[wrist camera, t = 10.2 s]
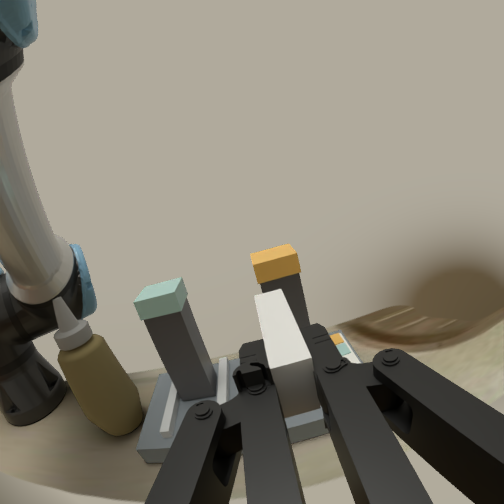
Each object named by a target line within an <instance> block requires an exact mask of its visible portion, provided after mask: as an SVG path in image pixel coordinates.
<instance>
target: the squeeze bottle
mask: <svg viewBox="0 0 504 504" xmlns="http://www.w3.org/2000/svg"><path fill="white" fill-rule="evenodd" d="M53 306H54V310H55V315H56V319H57V323H58V327H59V330H58V331H57V332H56V333H55V334H54V339H55V341H56V343H57V345H58V347H59V349H60V352H59V355H58V362H59V364H60V367H61V369H62V371H63V373H64V375H65V378H66V380H67V382H68V384H69V386H70V388H71V390H72V392H73V394H74V396H75V397H76V399H77V401H78V403H79V405H80V407H81V409H82V410H83V412H84V414H85V416H86V417H87V418H88V419H89V420H90V421H91V422H93V423H94V424H95V425H97V426H98V427H100V428H101V429H103V430H104V431H105V432H107V433H108V434H111V435H114V436H119V435H125V434H127V433H130V432H132V431H133V430H134V429H136V428H137V427H138V426H139V424H140V423H141V421H142V417H143V413H142V408H141V403H140V397H139V393H138V390H137V388H136V386H135V385H134V383H133V382H132V381H131V379H130V378H129V376H128V375H127V373H126V372H125V370H124V369H123V368H122V366H121V365H120V363H119V362H118V360H117V359H116V357H115V356H114V354H113V352H112V351H111V349H110V348H109V346H108V345H107V343H106V341H105V340H104V338H103V337H102V336H100V335H97V334H92V330H91V328H90V326H89V324H88V321H86V320H77V319H76V318H75V316H74V315H73V313H72V312H71V311H70V309H69V308H68V306H67V305H66V303H65V302H64V300H63V299H62V297H58V298H55V299H54V300H53Z"/></svg>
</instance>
